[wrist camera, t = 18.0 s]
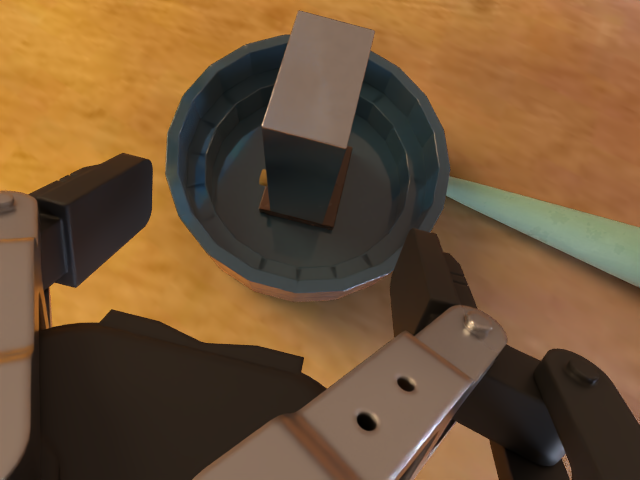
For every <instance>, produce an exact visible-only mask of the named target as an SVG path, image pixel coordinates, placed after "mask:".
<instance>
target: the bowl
mask: <svg viewBox="0 0 640 480" xmlns="http://www.w3.org/2000/svg"><path fill="white" fill-rule="evenodd" d="M289 38H290V35H281V36H277V37H273V38H269V39H265V40H261V41H257V42H253V43H249V44H246V45H244V46H242V47H240V48H238V49H237V50H235V51H233V52H232V53H230V54H228V55H227V56H225V57H223V58H222V59H220V60H218V61H216V62H215V63H213V64H211V65H210V66H209V67H208V68H207V69H206V70H205V71H204V72H203V73H202V75H201V76H200V77H199V78H198V79H197V80H196V81H195V82H194V84H193V85H192V86H191V87H190V88H189V89H188V90H187V91H186V93H185V94H184V95H183V96H182V99H181V101H180V104H179V106H178V108H177V111H176V113H175V116H174V118H173V120H172V123H171V125H170V128H169V130H168V133H167V146H166V170H165V175H166V179H167V182H168V185H169V188H170V191H171V194H172V197H173V201H174V204H175V207H176V210H177V213H178V216H179V217H180V219H181V221H182V222H183V223H184V224H185V226H186V227H187V228H188V230H189V231H190V232H191V233H192V235H193V236H194V237H195V239H196V240H197V241H198V242H199V244H200V245H201V246H202V248H203V249H204V250H205V251H206V253H207V254H208V255H209V256H210V258H211V259H212V260H213V261H214V262H215V264H216V265H217V266H218V267H219V268H220V269H221V270H222V271H224V272H225V273H227V274H228V275H230V276H231V277H233V278H234V279H236V280H237V281H239V282H240V283H242V284H244V285H245V286H247V287H248V288H250V289H251V290H253V291H255V292H258V293H262V294H265V295H269V296H273V297H277V298H280V299H284V300H288V301H292V302H307V301H325V300H335V299H336V300H337V299H339V298H342V297H344V296H347V295H349V294H352V293H355V292H357V291H360V290H362V289H365V288H367V287H370V286H372V285H374V284H375V283H377V282H378V281H380V280H381V279H382V278H384V277H385V276H387V275H388V274H390V273H391V272H392V271H393V270H394V268H395V265H396V263H397V260H398V258H399V255H400V253H401V250H402V248H403V245H404V242H405V240H406V237H407V235H408V233H409V231H410V230H411V229H412V228H415V229H418V230H422V231H426V232H431V230H432V228H433V226H434V225H435V223H436V221H437V219H438V218H439V216H440V214H441V212H442V211H443V208H444V204H445V198H446V192H447V187H448V181H449V175H450V164H449V157H448V151H447V145H446V139H445V133H444V129H443V127H442V125H441V123H440V121H439V119H438V117H437V116H436V114H435V112H434V110H433V108H432V106H431V104H430V102H429V100H428V98H427V96H425V94H424V93H423V92H422V91H421V90H420V89H419V88H418V87H417V86H416V84H415V83H414V82H413V81H412V80H411V79H410V78H409V77H408V76H407V75H406V74H405V73H404V72H403V71H402V70H401V69H400V68H399V67H398V66H396V65H394V64H393V63H391V62H389V61H388V60H386V59H384V58H383V57H381V56H379V55H378V54H376V53H374V52H372V51H371V50H370V54H369V58H368V63H367V67H366V71H365V75H364V79H363V83H362V87H361V91H360V95H359V100H358V104H357V108H356V112H355V116H354V120H353V124H352V128H351V132H350V137H349V141H348V145H347V146H350V147H352V148H353V149H352V153H351V157H350V161H349V166H348V170H347V174H346V178H345V182H344V187H343V191H342V195H341V199H340V203H339V208H338V212H337V216H336V220H335V224H334V228H333V230H328V229H324V228H320V227H316V226H312V225H308V224H304V223H300V222H296V221H292V220H288V219H284V218H281V217H277V216H273V215H269V214H265V213H261V212H259V205H260V202H261V199H262V195H263V192H264V189H265V186H263V185H260V184H259V180H260V175H261V172H262V170H263V169H265V170H266V166H265V156H264V146H263V136H262V126H261V125H262V122H263V119H264V116H265V113H266V110H267V107H268V103H269V100H270V97H271V94H272V91H273V88H274V85H275V82H276V78H277V75H278V72H279V69H280V66H281V63H282V60H283V56H284V53H285V50H286V47H287V44H288V41H289Z"/></svg>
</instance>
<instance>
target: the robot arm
mask: <svg viewBox="0 0 640 480" xmlns="http://www.w3.org/2000/svg"><path fill="white" fill-rule="evenodd" d="M152 178H153V168H152V163H151V161H150V160H149V159H145V158H141V157H137V156H133V155H129V154H125V153H121V154H119V155H117V156H115V157H113V158H111V159H109V160H107V161H105V162H103V163H101V164H98V165H93V166H89V167H84V168H82V169H79V170H77V171H75V172H73V173H71V174H70V176H69V175H67V176H65V177H63V178H61V179H60V180H59V181H55V182H53V183H51V184H49V185H47V186H45V187H43V188H40V189H38V190H36V191H34V192H32V193H30V194H25V193H21V192H15V191H0V480H414V478H415V477H416V476H417V474H418V473H419V471H420V470H421V469H422V467H423V466H424V465H425V463H426V462H427V461H428V459H429V458H430V457H431V455H432V454H433V453H434V451H435V450H436V449H437V447H438V446H439V445H440V443H441V442H442V441H443V439H444V438H445V437H446V435H447V434H448V433H449V431H450V430H451V429H452V427H453V426H454V425H455V423H456V422H458V423H460V424H462V425H464V426H466V427H468V428H469V429H471V430H473V431H475V432H477V433H479V434H481V435H482V436H484V437H486V438H488V439H489V440H490V445H491V449H492V453H493V457H494V461H495V466H496V470H497V474H498V478H499V480H570V479H569V476H568V474H567V471H566V469H565V466H564V464H563V461H562V459H561V458H562V457H563V456H564V455H565V454H566V455H567V458H568V460H569V463H570V466H571V470H572V480H640V425H639V423H638V422H637V420H636V419H635V417H634V416H633V414H632V412H631V411H630V409H629V408H628V406H627V405H626V403H625V401H624V400H623V398H622V397H621V395H620V394H619V392H618V390H617V389H616V387H615V386H614V384H613V383H612V381H611V380H610V379H609V377H608V376H607V375H606V374H605V373H604V372H603V371H602V370H601V369H599V368H598V367H597V366H596V365H594V364H593V363H592V362H590V361H589V360H587V359H585V358H584V357H582V356H580V355H578V354H576V353H573V352H571V351H568V350H564V349H551V350H549V351H548V352H547V353H546V355H545V356H544V357H543V359H542V360H541V361H539V360H537V359H535V358H533V357H531V356H529V355H527V354H524V353H522V352H520V351H518V350H516V349H514V348H512V347H510V346H508V345H507V344H506V343H507V335H506V332H505V331H504V329H503V328H502V327H501V325H500V324H499V323H498V322H497V321H496V320H494V319H493V318H492V317H490V316H489V315H488V314H486V313H484V312H482V311H480V310H478V309H477V306H476V304H475V301H474V299H473V296H472V294H471V291H470V289H469V286H467V285H468V284H467V281H466V279H465V277H464V274H463V271H462V269H461V266H460V264H459V263H458V262H457V261H456V260H455V259H454V258H453V257H452V256H451V255H450V254H449V253H445V252H443V251H442V248H441V245H440V242H439V239H438V236H437V234H434V233H430V232H426V231H422V230H418V229H415V228H412V229H411V230H410V231H409V233H408V235H407V237H406V240H405V242H404V245H403V248H402V250H401V253H400V255H399V258H398V260H397V263H396V265H395V268H394V271H393V274H392V277H391V282H390V296H391V307H392V318H393V329H394V338H393V339H392V340H391V341H390V342H388V343H387V344H386V345H384V346H383V347H382V348H380V349H379V350H378V351H376V352H375V353H374V354H372V355H371V356H370V357H368V358H367V359H366V360H364V361H363V362H362V363H361V364H359V365H358V366H357V367H355V368H354V369H353V370H351V371H350V372H349V373H347V374H346V375H345V376H343V377H342V378H341V379H339V380H338V381H337V382H336V383H334V384H333V385H332V386H330V387H329V388H328V389H326V388H325V387H324V386H322V385H321V384H320V383H319V382H317V381H315V380H314V379H312V378H311V377H309V376H307V375H305V374H303V373H302V372H301V370H302V365H303V360H304V357H300V356H296V355H292V354H288V353H284V352H280V351H276V350H272V349H268V348H264V347H260V346H253V345H233V344H213V343H204V342H201V341H198V340H196V339H194V338H192V337H190V336H188V335H186V334H184V333H182V332H180V331H178V330H176V329H174V328H172V327H170V326H168V325H166V324H164V323H162V322H160V321H156V320H152V319H148V318H144V317H140V316H136V315H132V314H128V313H124V312H120V311H116V310H112V309H111V311H110V312H109V313H108V314H107V315H106V316H105V317H104V318H103V319H102V320H101V321H100V323H76V324H67V325H62V326H56V327H52V315H51V296H50V289H49V286H51V285H52V284H53V283H54V282H55V283H59V284H63V285H67V286H71V287H75V288H76V287H77V286H79V285H80V284H81V283H82V282H83V281H84V280H85V279H86V278H88V277H89V276H90V275H91V274H92V273H93V272H94V271H95V270H97V269H98V268H99V267H100V266H101V265H102V264H103V263H104V262H106V261H107V260H108V259H109V258H110V257H111V256H112V255H113V254H115V253H116V252H117V251H118V250H119V249H120V248H121V247H122V246H124V245H125V244H126V243H127V242H128V241H129V240H130V239H131V238H133V237H134V236H135V235H136V234H137V233H138V232H139V231H140V230H142V229H143V228H144V227H145V226H146V224H147V223H148V221H149V218H150V216H151V211H152Z"/></svg>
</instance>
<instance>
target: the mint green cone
mask: <svg viewBox="0 0 640 480" xmlns="http://www.w3.org/2000/svg"><path fill="white" fill-rule="evenodd" d="M446 196H447V197H449V198H451V199H453V200H455V201H457V202H459V203H461V204H463V205H465V206H467V207H470V208H472V209H474V210H476V211H478V212H480V213H482V214H484V215H486V216H488V217H491V218H493V219H495V220H497V221H499V222H501V223H503V224H505V225H507V226H509V227H511V228H514V229H516V230H518V231H520V232H522V233H524V234H526V235H528V236H530V237H532V238H535V239H537V240H539V241H541V242H543V243H545V244H547V245H549V246H552V247H554V248H556V249H558V250H560V251H562V252H564V253H566V254H568V255H571V256H573V257H575V258H577V259H579V260H581V261H583V262H585V263H588V264H590V265H592V266H594V267H596V268H598V269H600V270H602V271H605V272H607V273H609V274H611V275H613V276H615V277H617V278H619V279H622V280H624V281H626V282H628V283H630V284H632V285H635V286H637V287H639V288H640V227H636V226H632V225H629V224H625V223H622V222H618V221H614V220H611V219H607V218H603V217H600V216H596V215H592V214H589V213H585V212H581V211H578V210H574V209H571V208H567V207H563V206H560V205H556V204H552V203H549V202H545V201H541V200H538V199H534V198H530V197H527V196H523V195H519V194H516V193H512V192H508V191H505V190H501V189H497V188H494V187H490V186H486V185H483V184H479V183H475V182H471V181H467V180H463V179H459V178H455V177H451V176H449V181H448V187H447V192H446Z"/></svg>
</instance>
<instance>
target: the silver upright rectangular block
mask: <svg viewBox="0 0 640 480" xmlns="http://www.w3.org/2000/svg"><path fill="white" fill-rule="evenodd" d="M374 34H375V31H374V30H371V29H367V28H363V27H359V26H356V25H352V24H348V23H344V22H341V21H337V20H333V19H329V18H326V17H322V16H318V15H314V14H311V13H307V12H303V11H298V13H297V16H296V19H295V22H294V25H293V28H292V31H291V35H290V38H289V41H288V44H287V47H286V50H285V53H284V56H283V60H282V63H281V66H280V69H279V72H278V75H277V78H276V82H275V85H274V88H273V91H272V94H271V97H270V100H269V103H268V107H267V110H266V113H265V116H264V119H263V122H262V125H261V126H262V136H263V146H264V156H265V166H266V170H265V169H263V170H262V172H261V175H260V180H259V184H260V185H263V186H265V189H264V192H263V195H262V199H261V202H260V205H259V212H261V213H265V214H269V215H273V216H277V217H281V218H284V219H288V220H292V221H296V222H300V223H304V224H308V225H312V226H316V227H320V228H324V229H328V230H333V228H334V224H335V220H336V216H337V212H338V208H339V203H340V199H341V195H342V191H343V187H344V182H345V178H346V174H347V170H348V166H349V161H350V157H351V153H352V149H353V148H352V147H350V146H347V145H348V141H349V137H350V132H351V128H352V124H353V120H354V116H355V112H356V108H357V104H358V100H359V95H360V91H361V87H362V83H363V79H364V75H365V71H366V67H367V63H368V58H369V54H370V50H371V46H372V42H373V38H374Z"/></svg>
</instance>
